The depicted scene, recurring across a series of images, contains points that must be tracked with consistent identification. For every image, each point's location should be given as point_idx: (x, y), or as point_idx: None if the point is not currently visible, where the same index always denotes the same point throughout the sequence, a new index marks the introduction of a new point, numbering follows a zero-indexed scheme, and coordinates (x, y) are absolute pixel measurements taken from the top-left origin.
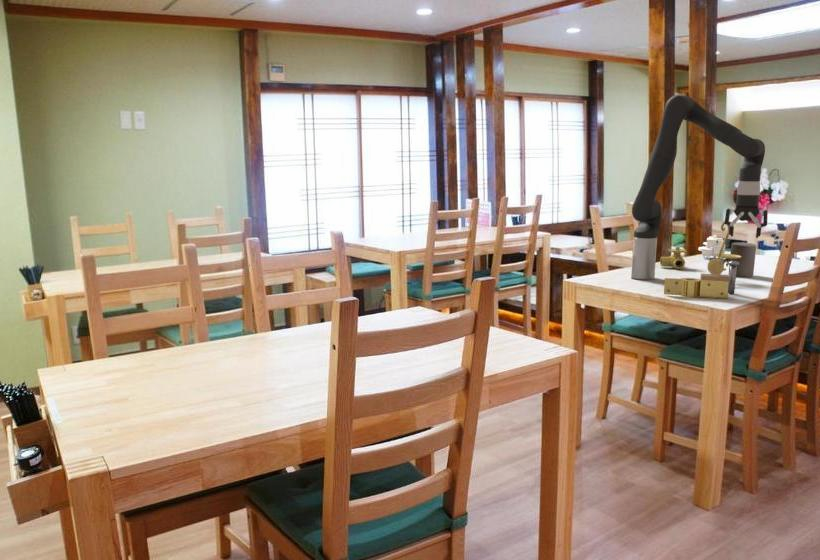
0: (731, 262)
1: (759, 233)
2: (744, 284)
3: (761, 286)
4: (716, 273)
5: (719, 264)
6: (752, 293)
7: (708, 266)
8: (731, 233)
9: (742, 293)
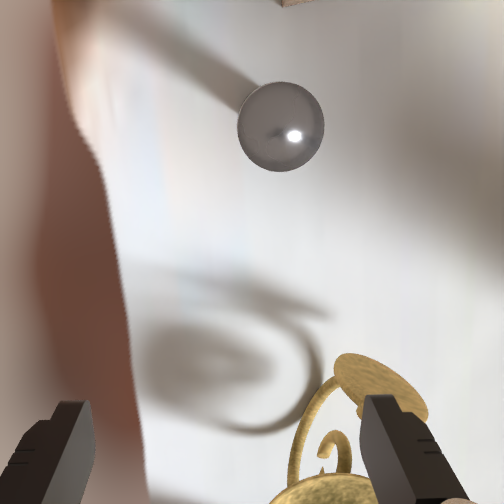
0: (298, 88)
1: (28, 452)
2: (222, 386)
3: (146, 376)
4: (361, 360)
5: (365, 390)
6: (159, 176)
7: (417, 396)
8: (395, 416)
9: (205, 149)
